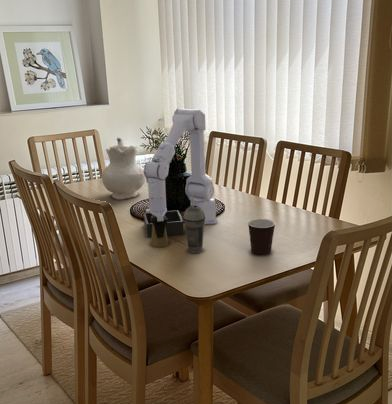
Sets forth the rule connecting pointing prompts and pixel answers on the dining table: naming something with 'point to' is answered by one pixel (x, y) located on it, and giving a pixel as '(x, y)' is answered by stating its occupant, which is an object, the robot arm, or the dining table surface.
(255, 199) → the dining table surface
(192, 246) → the beverage cup
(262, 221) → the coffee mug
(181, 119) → the robot arm
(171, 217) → the bin
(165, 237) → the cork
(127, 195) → the ceramic pitcher
